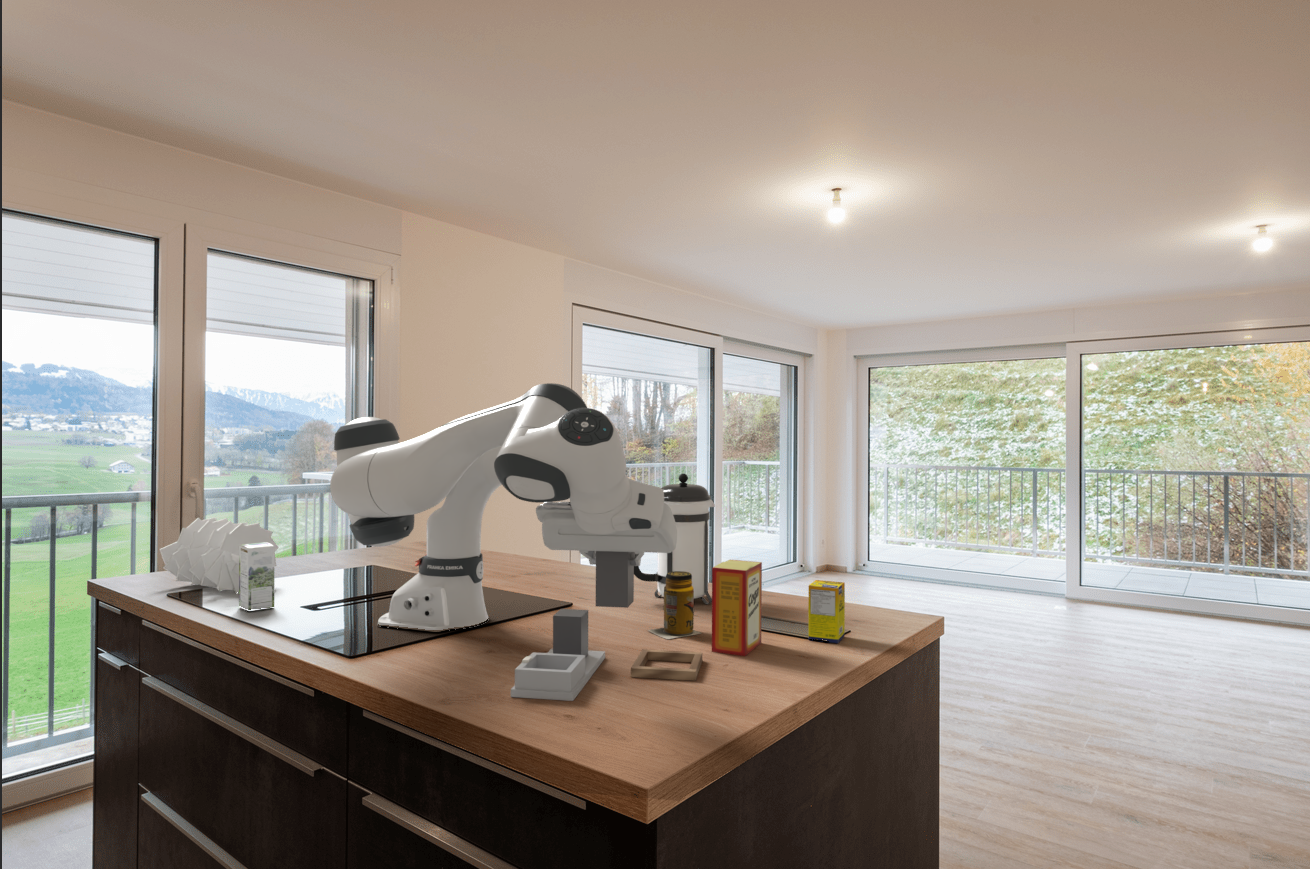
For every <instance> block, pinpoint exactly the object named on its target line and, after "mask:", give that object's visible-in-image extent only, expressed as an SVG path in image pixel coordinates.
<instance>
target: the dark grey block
mask: <svg viewBox="0 0 1310 869" xmlns="http://www.w3.org/2000/svg"><path fill="white" fill-rule="evenodd" d="M630 554H631V552H614V551H596V565H595V607H602V608H603V607H604V608H625V609H626V608H627V609H628V608H629V607H630V606H631V605H632V604H633V603H634V600H635V598H634V597H635V594H634V593H635V592H634V591H635V589H634V588H635V582H634V581H635V575H634V566H631V565H630V556H631V555H630Z"/></svg>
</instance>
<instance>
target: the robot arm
mask: <svg viewBox="0 0 1310 869" xmlns="http://www.w3.org/2000/svg"><path fill="white" fill-rule="evenodd" d="M400 439H401V438H400V436H399V433H398V430H397V428H396V426H395V425H394V423H393V422H391V421H390V420H389V419H382V418H378V417H376V416H363V417H358V418H355V419H353V420H351V421H349V422H347V423H346V424H344V425H341V426H340V427H339V428H338V429H337V431H335V434H334V438H333V442H334V443H333V450H334V451H335V452H336V465H337V467H336V468H335V469H334V471H333V472H332V476H331V478H330V484H329V487H330V488H329V490H330V493H331V497H332V499H333V502H334V503H335V504H336V506H337V507H338V508H339V509H340V510H341V511H342V512H344V513H345V514H347V516H348V518H349V521H350V523H351V524H350V525H349V528H350V531H351V533H352V536H353V538H354V539H355V540H356V541H357V542H358V543H360V544H361V545H363V546H371V547H374V548H375V547H377V548H378V547H380V548H381V547H388V546H389V547H390V546H392V545H394V544H397V543H399V542H400V541H402V540H403V539H405V538H407V537H409V536H410V534H411V533H412V532H413V531H414V527H415V515H416V514H421V513H423V512H425V511H428V510H430V509H432V508H434V507H436V506H438V505H439V504H440V503H441V502H442V501H443V500H444V502H443V504H442V505H441V507H439V508H437V509H436V510H434V511H433V512H432V513H431V514H430V515H429V516H428V517H427V520H426V554H424V555H423V556H421V557H420V558H419V559H417V560H415V561H414V563H415V564H414V567H418V573H416V574H415V575H414V576H412V578H410V579H409V580H408V581H406V582H405V583H404V584H403V585H401V586H400V587H399V588H398V589H396V590H395V592H394V593H393V594H392V595H391V599H390V604H389V610H388V612H386V613H384V614H383V615H381V616H380V617H379V618H378V620H377V625H378V624H379V625H389V626H399V627H408V628H418V629H425V630H443V629H448V628H454V627H464V626H471V625H475V624H479V623H481V622H484V621H486V620H487V619H488V618H489V615H488V612H487V608H486V604H485V597H484V592H483V591H484V590H483V582H482V581H483V576H484V558H483V553H482V552H481V547H482V546H481V544H482V543H481V542H482V540H481V539H482V524H483V523H482V521H483V516H484V515H483V514H484V511H485V508H486V506H487V503H488V501H489V499H490V498H491V496H492V495H493V493H495V491H496V490H497V489H498V488H500V487H501V486H502V487H504V489H505V490H506V491H507V492H508V493H510V494H511V495H512V496H513V497H515V498H516V499H518V500H521V501H524V502H528V503H529V502H530V503H539V505H537V506H536V508H535V514H536V517H537V519H538V521H539V522H540V523H541V532H542V533H541V534H542V540H543V544H544V546H545V547H546V548H548V549H549V550H552V551H578V553H579V554H581V555H582V556H584V557H585V558H586V559H587V560H588V562H589V565H590V566H591V565H592V566H593V565H595V566H596V551H614V552H631V554H630V555H631V556H630V565H631V566H639V567H640V566H641V564H642V563H641V561H642V557H643V556H644V555H645V553H653V554H654V553H657V554H658V553H671V552H672V551H673V550H674V549H675V548H676V543H677V527H676V523H675V519H674V516H673V513H672V511H671V509H670V507H669V506H668V505H667V504H666V503H664V491H663V489H662V487H661V486H660V487H659V486H656V485H652V484H648V483H643V482H640V481H637V480H634V479H631V478H629V477H628V476H627V474H626V471H627V461H626V457H625V452H624V447H623V444H622V441H621V440H622V439H621V437H620V435H619V432H618V430H617V428H616V426H615V424H614V423H613V422H612V420H611V419H610V418H609V417H608V416H607V415H606V414H605V413H603V412H601V411H600V410H597V409H594V408H591V407H588V406H587V404H586V403H585V401H584V399H583V398H582V397H581V396H580V395H579V394H578V393H577V392H576V391H575V390H573V389H572V388H571V387H569V386H566V385H564V384H559V383H555V382H554V383H549V382H548V383H542V384H541V383H540V384H536V385H535V386H532V387H531V388H530V389H528V390H527V391H526V392H525V393H524V394H522V395H520V397H517V398H515V399H513V400H510V401H505V402H504V403H501V404H498V405H494V406H492V407H488V408H485V409H482V410H479V411H476V412H472V413H469V414H466V415H464V416H461V417H459V418H455V419H453V420H451V421H448V422H447V423H445V424H442V425H440V426H439V427H437V428H434V429H432V430H431V431H428V432H426V433H424V434H421V435H419V436H415V437H414V438H411V439H408V440H405V441H401V442H399V440H400ZM566 500H567V501H566ZM568 500H569V501H568ZM540 503H542V504H540ZM488 620H489V619H488Z"/></svg>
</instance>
